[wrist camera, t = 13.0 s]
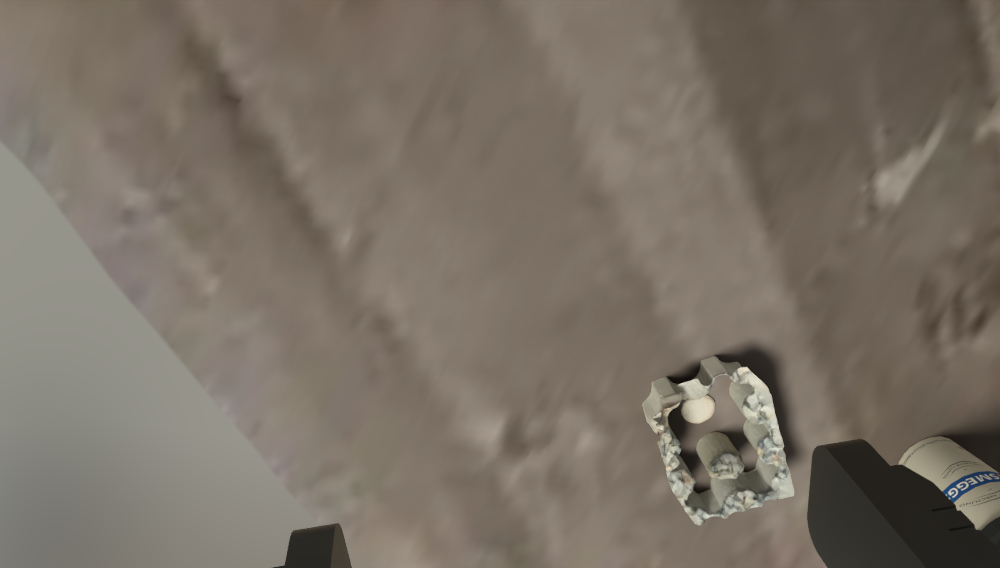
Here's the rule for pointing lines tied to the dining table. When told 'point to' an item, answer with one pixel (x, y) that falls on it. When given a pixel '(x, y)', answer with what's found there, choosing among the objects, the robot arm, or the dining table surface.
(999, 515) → the coffee cup
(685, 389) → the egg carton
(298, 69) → the dining table surface
